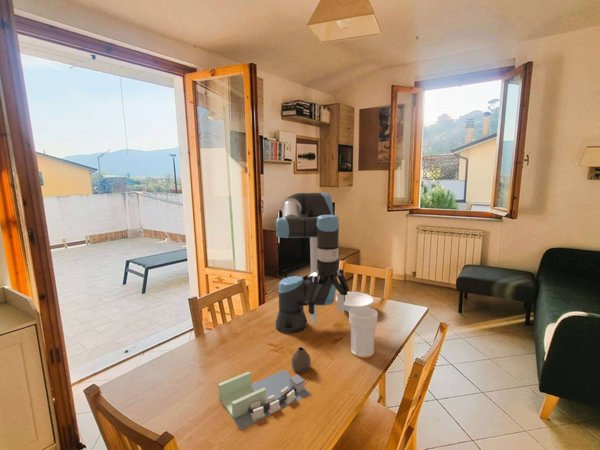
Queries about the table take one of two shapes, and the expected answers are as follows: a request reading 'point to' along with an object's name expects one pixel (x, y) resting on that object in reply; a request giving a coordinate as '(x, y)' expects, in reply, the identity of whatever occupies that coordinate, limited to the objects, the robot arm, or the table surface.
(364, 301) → the bowl
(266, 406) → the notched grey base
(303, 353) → the vase
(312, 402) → the table surface
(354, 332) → the cup
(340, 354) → the table surface
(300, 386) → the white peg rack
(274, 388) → the board
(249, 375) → the holder
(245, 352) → the table surface
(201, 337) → the table surface
